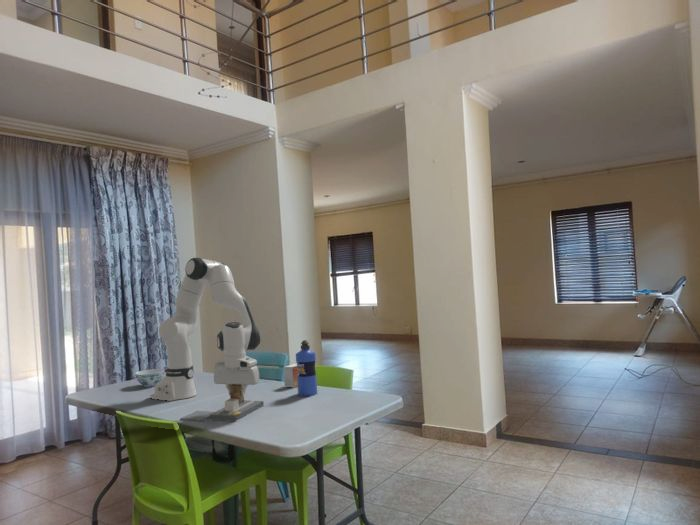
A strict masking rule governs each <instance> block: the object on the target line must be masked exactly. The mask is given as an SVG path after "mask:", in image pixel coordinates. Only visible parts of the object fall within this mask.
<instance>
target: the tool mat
mask: <svg viewBox="0 0 700 525" xmlns="http://www.w3.org/2000/svg"><path fill="white" fill-rule="evenodd" d="M214 412H215V411H208V410H207V411H205V410H196V411H193V412H191V413H189V414H187V415H184V416H182V417H180V418H179V421H188V420H190V421H191V422H192V421H193V422H204V420H205V421H206V419H207V420H208V418H209V419H210V414H212V413H214Z"/></svg>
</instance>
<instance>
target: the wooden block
mask: <svg viewBox="0 0 700 525" xmlns="http://www.w3.org/2000/svg"><path fill="white" fill-rule="evenodd" d="M242 389H243V387H242V385H238V384H231V385H230V395H229V396H230V398H235V399H239V405H240V404H242V403H244V400H245V395H240V391H241V390H242ZM230 398H229V399H230Z"/></svg>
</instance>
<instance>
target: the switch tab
mask: <svg viewBox="0 0 700 525" xmlns="http://www.w3.org/2000/svg"><path fill="white" fill-rule="evenodd" d="M224 407H225V411H228V412H231V411H233V410H235V409H237V408H239V399H235V398H228V399H226V400H224Z"/></svg>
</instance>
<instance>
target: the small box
mask: <svg viewBox="0 0 700 525" xmlns="http://www.w3.org/2000/svg"><path fill="white" fill-rule="evenodd" d="M283 373H284V375H283V377H284V378H283V379H284V388H287V387H292V388H291V389H294V388H298V384H297V373H298V368H297V363H292V364H289V365H286V366H283Z"/></svg>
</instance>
